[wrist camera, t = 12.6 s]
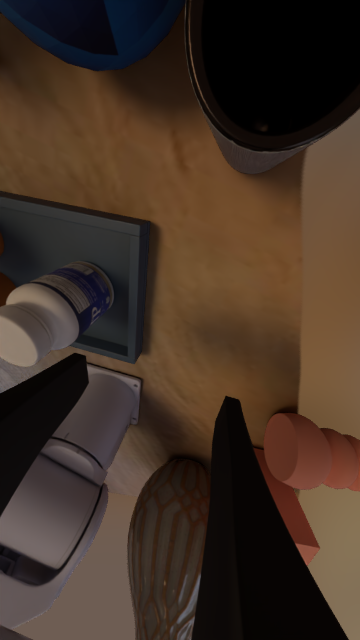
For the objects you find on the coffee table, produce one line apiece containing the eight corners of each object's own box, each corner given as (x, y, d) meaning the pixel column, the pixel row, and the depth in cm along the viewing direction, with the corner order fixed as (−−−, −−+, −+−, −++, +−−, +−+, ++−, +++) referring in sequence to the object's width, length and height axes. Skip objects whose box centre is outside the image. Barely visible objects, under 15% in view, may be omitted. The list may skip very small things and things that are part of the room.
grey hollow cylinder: (203, 138, 14) (143, 52, 5) (262, 46, 11) (342, -426, 3) (254, 191, 14) (278, 196, 6) (319, 116, 12) (527, -67, 3)
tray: (142, 351, 24) (134, 364, 22) (-17, 308, 27) (-35, 316, 25) (150, 221, 17) (140, 225, 15) (-71, 176, 19) (-102, 175, 17)
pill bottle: (97, 320, 23) (28, 385, 15) (55, 283, 21) (-42, 334, 14) (126, 291, 20) (60, 352, 12) (81, 247, 19) (-22, 286, 11)
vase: (135, 452, 36) (66, 629, 22) (199, 439, 30) (162, 674, 16) (181, 492, 40) (149, 665, 26) (246, 488, 34) (252, 712, 19)
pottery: (223, 494, 30) (288, 508, 31) (239, 596, 21) (331, 613, 22) (272, 388, 25) (350, 407, 26) (321, 464, 16) (439, 491, 17)
